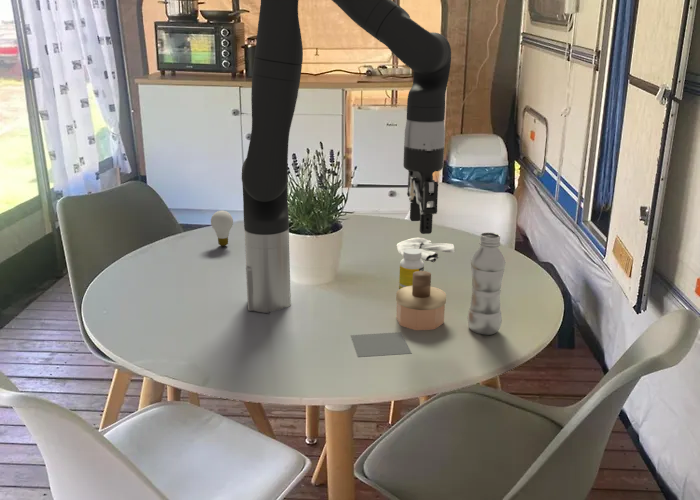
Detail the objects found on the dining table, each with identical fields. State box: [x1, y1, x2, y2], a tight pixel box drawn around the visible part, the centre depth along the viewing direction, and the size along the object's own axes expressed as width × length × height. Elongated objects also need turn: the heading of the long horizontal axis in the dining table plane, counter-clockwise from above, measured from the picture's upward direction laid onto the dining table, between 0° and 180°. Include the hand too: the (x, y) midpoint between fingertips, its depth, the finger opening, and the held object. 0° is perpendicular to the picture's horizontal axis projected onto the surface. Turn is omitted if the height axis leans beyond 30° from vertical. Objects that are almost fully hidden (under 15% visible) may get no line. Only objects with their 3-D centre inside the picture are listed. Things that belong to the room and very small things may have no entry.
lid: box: [395, 270, 447, 310], centre depth 136 cm, size 10×10×6 cm
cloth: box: [396, 237, 456, 263], centre depth 181 cm, size 20×22×2 cm
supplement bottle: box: [398, 249, 425, 290], centre depth 153 cm, size 5×5×10 cm
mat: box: [350, 331, 412, 358], centre depth 128 cm, size 10×9×1 cm
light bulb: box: [210, 210, 234, 248], centre depth 183 cm, size 6×6×10 cm
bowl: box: [395, 301, 446, 331], centre depth 138 cm, size 9×9×5 cm
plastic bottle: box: [466, 232, 506, 336], centre depth 132 cm, size 6×7×20 cm
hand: (420, 226), depth 133 cm, fingers open, 8 cm apart
